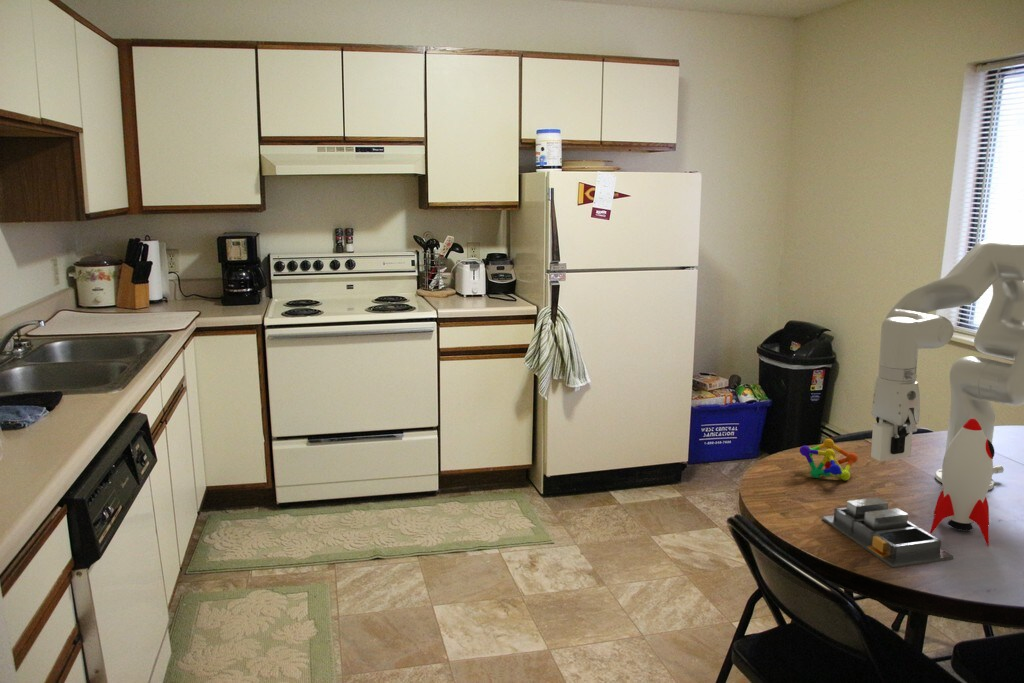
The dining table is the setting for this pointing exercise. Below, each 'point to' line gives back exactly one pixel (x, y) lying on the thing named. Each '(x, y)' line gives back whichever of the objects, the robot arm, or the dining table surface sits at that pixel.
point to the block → (887, 442)
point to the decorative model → (829, 460)
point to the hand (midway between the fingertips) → (891, 449)
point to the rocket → (966, 480)
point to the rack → (886, 533)
